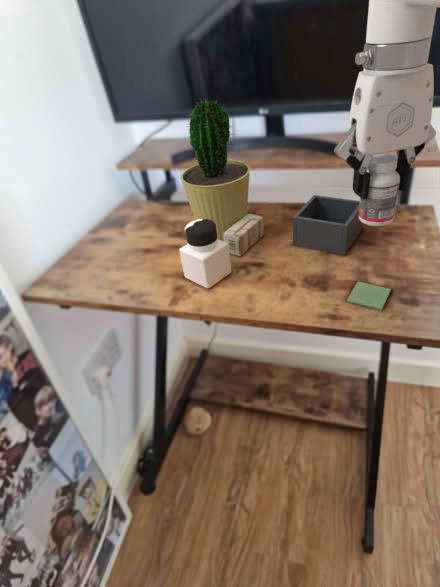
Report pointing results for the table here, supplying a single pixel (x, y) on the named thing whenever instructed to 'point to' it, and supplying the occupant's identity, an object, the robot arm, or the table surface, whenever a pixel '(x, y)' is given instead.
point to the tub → (327, 224)
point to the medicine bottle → (204, 254)
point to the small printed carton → (244, 234)
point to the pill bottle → (380, 191)
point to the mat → (369, 295)
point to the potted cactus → (215, 170)
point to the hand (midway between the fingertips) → (379, 190)
